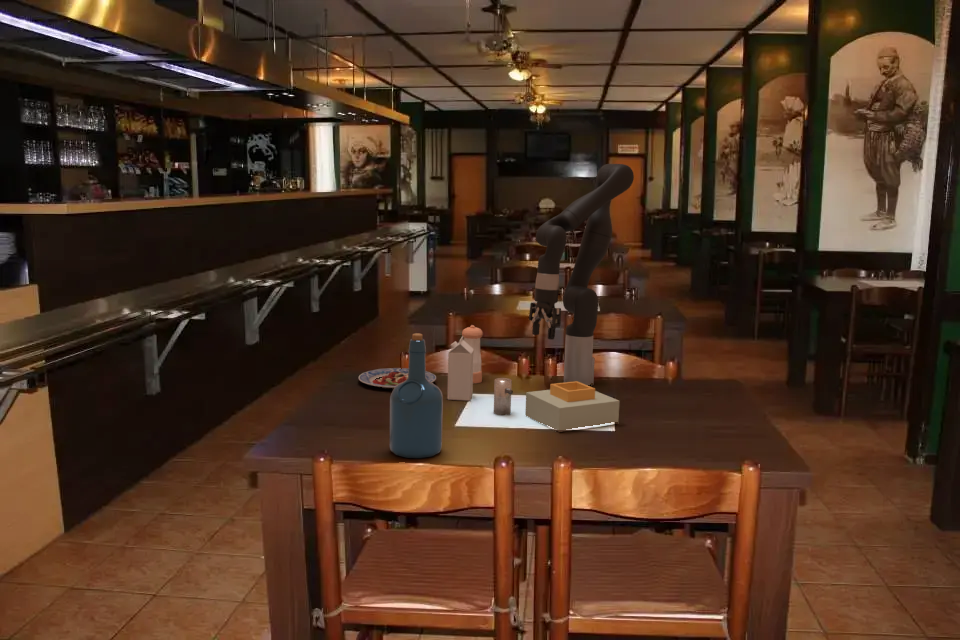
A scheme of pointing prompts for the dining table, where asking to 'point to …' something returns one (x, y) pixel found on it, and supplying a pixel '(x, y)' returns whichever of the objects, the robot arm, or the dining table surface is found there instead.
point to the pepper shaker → (473, 339)
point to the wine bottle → (416, 409)
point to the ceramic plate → (389, 377)
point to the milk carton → (460, 371)
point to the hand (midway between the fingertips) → (543, 336)
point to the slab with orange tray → (571, 406)
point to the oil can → (502, 396)
